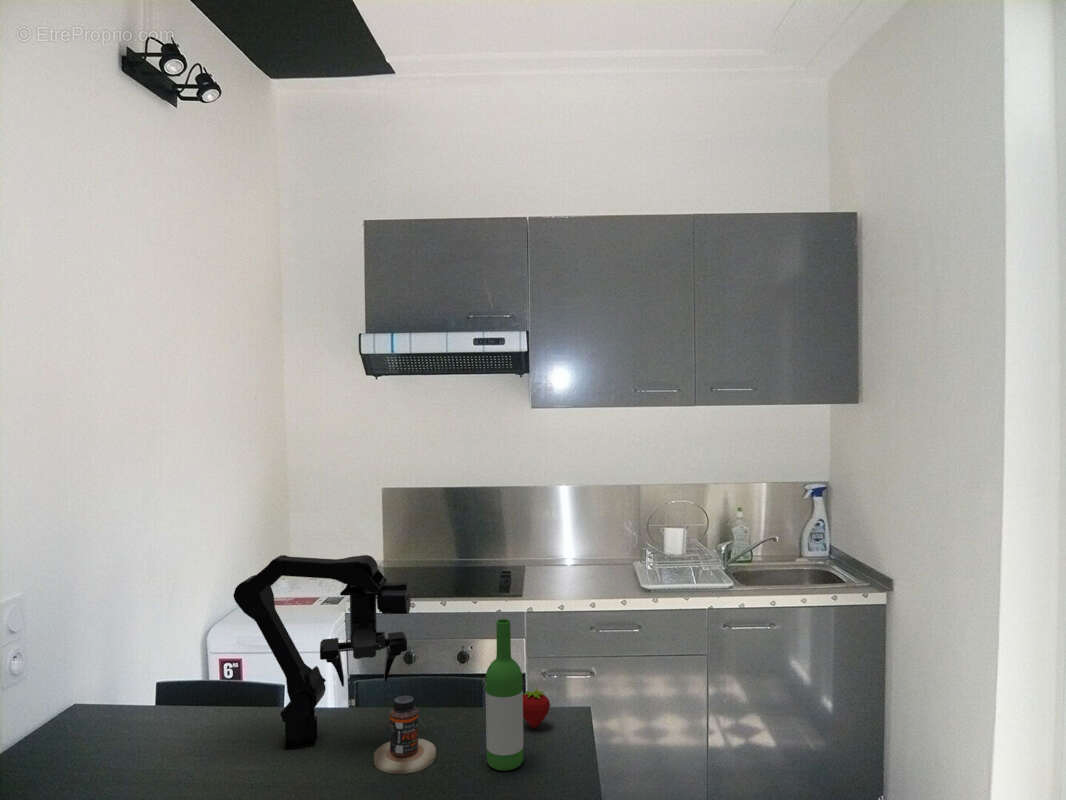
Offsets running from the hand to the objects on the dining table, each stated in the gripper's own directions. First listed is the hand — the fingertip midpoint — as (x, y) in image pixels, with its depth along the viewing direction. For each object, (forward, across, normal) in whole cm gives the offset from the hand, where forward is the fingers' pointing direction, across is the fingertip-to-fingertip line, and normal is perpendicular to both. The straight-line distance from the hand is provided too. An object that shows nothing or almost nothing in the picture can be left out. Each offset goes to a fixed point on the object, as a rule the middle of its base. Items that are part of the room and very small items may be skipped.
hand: (364, 683), depth 164 cm
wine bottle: (+13, +28, -18) cm, 36 cm away
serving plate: (+13, +8, -10) cm, 18 cm away
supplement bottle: (+12, +8, -10) cm, 17 cm away
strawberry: (+13, +38, -4) cm, 40 cm away
